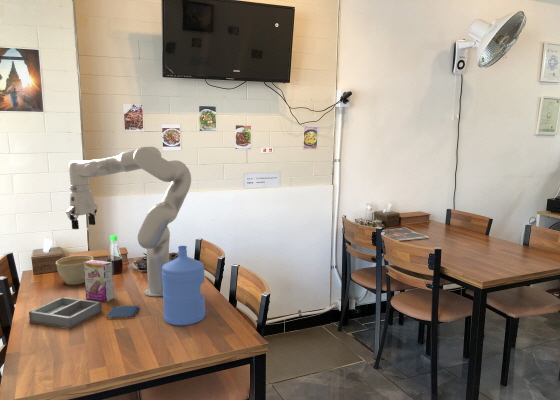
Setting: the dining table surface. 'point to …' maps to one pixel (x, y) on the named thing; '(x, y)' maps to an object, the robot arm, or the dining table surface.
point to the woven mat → (123, 312)
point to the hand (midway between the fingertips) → (84, 226)
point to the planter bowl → (72, 268)
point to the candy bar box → (98, 280)
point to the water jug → (183, 290)
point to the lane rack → (65, 312)
